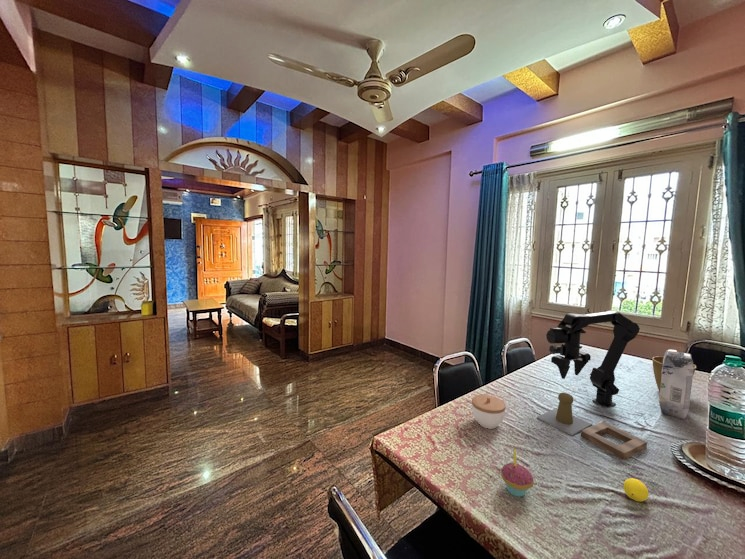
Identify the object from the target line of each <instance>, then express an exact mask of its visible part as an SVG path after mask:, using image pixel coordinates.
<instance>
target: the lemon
mask: <svg viewBox="0 0 745 559" xmlns="http://www.w3.org/2000/svg"><path fill="white" fill-rule="evenodd" d="M623 491H624V493H625V494H626V495H627V496H628V498H629V499H632V500H634V501H635V502H644V501H646V500H647V499H648V498H649V496H650V494H649V490H648V487H647V486H646V484H645V483H644V482H642V481H641V480H639V479H637V478H633V477H631V478H627V479H626V480H624V482H623Z"/></svg>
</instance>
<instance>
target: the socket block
mask: <svg viewBox="0 0 745 559" xmlns="http://www.w3.org/2000/svg"><path fill="white" fill-rule="evenodd" d="M604 435H609V436H611V437H613V438H615V439H617V440H618V441H620V442H623V443H621V444H620V445H619V444H617V443H615V442H613V441H612V440H609V439H607V438H605V437H604ZM579 436H580V438H582V439H584V440H586V441H588V442H589V443H592V444H593V445H595V446H596V447H599V448H601V449H602V450H604V451H606V452H608V453H609V454H612V456H613V455H614V456H615V457H617V458H618V459H621V460H623V461H625V460H628V459H629V458H631V457H633V456H636V455H637V454H639V453H641V452H643V451H645V450H647V447H648V441H646V440H644V439H642V438H639V437H637V436H635V435H633V434H632V433H629V432H627V431H625V430H622V429H621V428H618V427H616V426H614V425H613V424H610V423H608V422H605V421H601V422H598V423H596V424H592V426H590V427H588V428H586V429H583V430H581V432H580V435H579Z"/></svg>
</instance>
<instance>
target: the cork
mask: <svg viewBox="0 0 745 559" xmlns="http://www.w3.org/2000/svg"><path fill="white" fill-rule="evenodd" d="M557 397H558V398H557V399H558V401H559V402H558V406H557V408H558V410H557V414H556V420H557V421H559V422H560V423H563V424H568V425H569V424H573V416H574V415H573V405H572V404H573V403H574V397H573V395H572V394H570V393H567V392H561V393H559V394H558V396H557ZM572 415H573V416H572Z"/></svg>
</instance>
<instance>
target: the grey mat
mask: <svg viewBox="0 0 745 559" xmlns="http://www.w3.org/2000/svg"><path fill="white" fill-rule="evenodd" d="M557 410H558V407H555V408H553V409H551V410H549V411H546V412H544V413H542V414H540V415H538V416H536V419H538V420H540V421H542V422H543V423H546V424H548V425H550V426H551V427H553V428H556V429H558V430H559V431H561V432H564V433H565V434H567V435H569V436H572V437H574V436H575V435H578V434H579V433H581V430H583V429H586V428H588V427H591V426H593V423H591V422H588V421H586V420H584V419H583V418H580V417H577V416H575V415H573V414H572V416H573V424H569V425H568V424H563V423H560V422H559V421H557V420H556V414H557Z"/></svg>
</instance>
